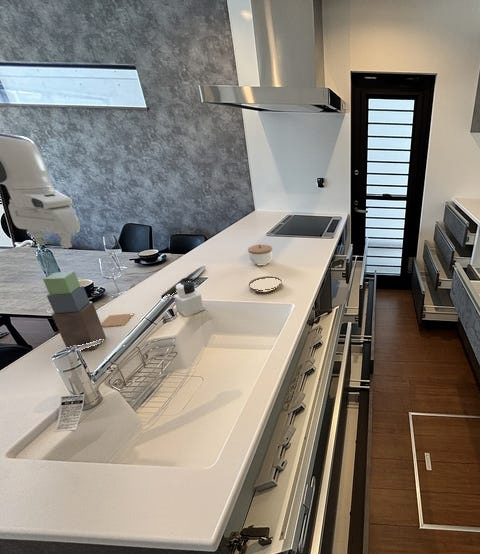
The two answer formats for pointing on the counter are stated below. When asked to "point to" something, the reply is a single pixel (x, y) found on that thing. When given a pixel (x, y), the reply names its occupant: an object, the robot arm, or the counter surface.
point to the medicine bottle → (188, 299)
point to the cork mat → (116, 320)
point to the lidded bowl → (260, 254)
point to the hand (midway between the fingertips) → (54, 245)
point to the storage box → (80, 327)
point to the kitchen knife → (184, 280)
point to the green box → (61, 283)
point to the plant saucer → (264, 278)
